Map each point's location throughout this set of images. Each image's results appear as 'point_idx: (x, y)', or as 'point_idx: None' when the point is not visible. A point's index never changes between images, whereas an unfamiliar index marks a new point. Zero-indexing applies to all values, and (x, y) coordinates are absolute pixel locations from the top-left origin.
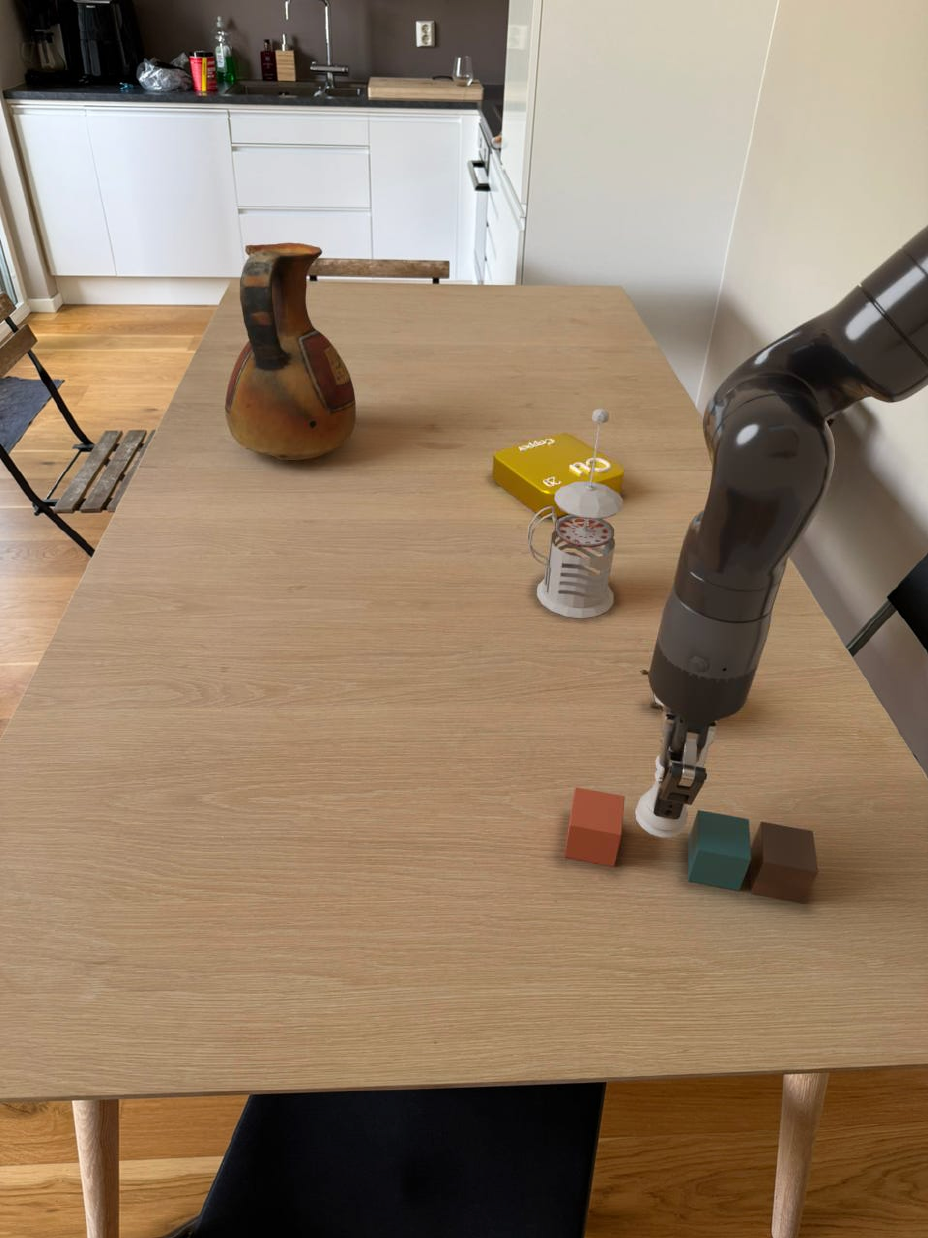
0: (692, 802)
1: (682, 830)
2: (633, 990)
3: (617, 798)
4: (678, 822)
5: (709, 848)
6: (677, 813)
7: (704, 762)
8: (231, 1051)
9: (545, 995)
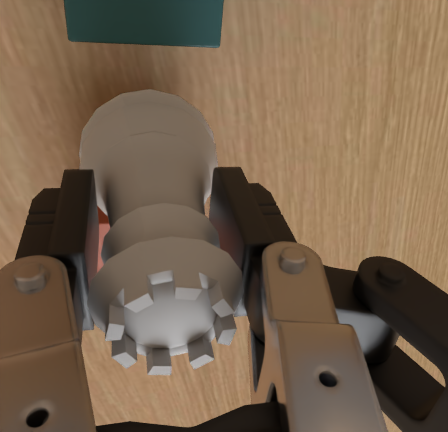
0: (431, 284)
1: (182, 100)
2: (416, 118)
3: (102, 236)
4: (201, 136)
5: (211, 13)
6: (274, 202)
7: (367, 371)
8: None
9: (407, 224)
